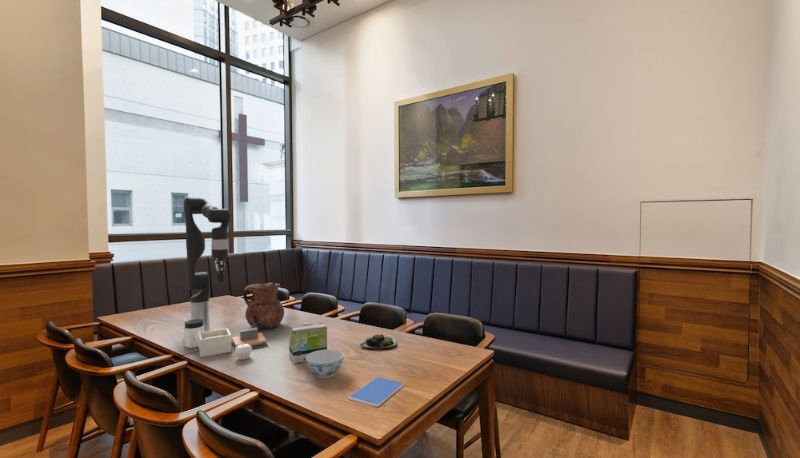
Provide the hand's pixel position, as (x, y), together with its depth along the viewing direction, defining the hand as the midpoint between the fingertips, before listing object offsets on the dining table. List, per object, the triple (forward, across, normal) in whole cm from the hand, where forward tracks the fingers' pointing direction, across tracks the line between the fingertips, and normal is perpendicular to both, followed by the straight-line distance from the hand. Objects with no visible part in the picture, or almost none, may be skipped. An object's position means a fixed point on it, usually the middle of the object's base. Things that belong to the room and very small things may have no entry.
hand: (220, 280), depth 188 cm
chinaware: (+32, +66, +31) cm, 80 cm away
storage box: (+32, +10, -4) cm, 34 cm away
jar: (+32, -4, -12) cm, 35 cm away
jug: (+32, -18, +25) cm, 45 cm away
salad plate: (+33, +46, +66) cm, 87 cm away
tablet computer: (+33, +90, +42) cm, 105 cm away
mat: (+32, +10, +12) cm, 36 cm away
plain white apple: (+32, +29, +6) cm, 44 cm away
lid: (+32, +10, +12) cm, 35 cm away
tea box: (+32, +44, +31) cm, 63 cm away
